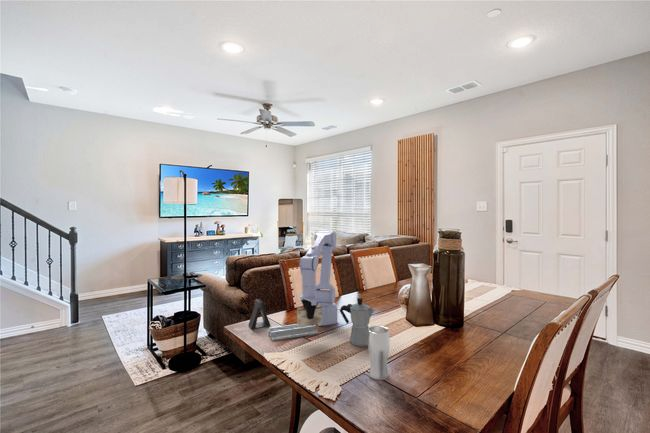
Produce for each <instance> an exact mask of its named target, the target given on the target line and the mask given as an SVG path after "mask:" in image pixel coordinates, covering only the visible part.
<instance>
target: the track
mask: <svg viewBox="0 0 650 433" xmlns="http://www.w3.org/2000/svg"><path fill="white" fill-rule="evenodd" d="M268 334H269V337H270V339H271V342H274V341H275V342H276V341H281V340H288V339H289V340H290V339H295V338H301V337H307V336H315V335H319V331H318V330H317V324H314V325H307V326H301V327H299V326H298V325H297V323H293V324H286V325H285V324H284V325H279V326H278V325H277V326H268Z"/></svg>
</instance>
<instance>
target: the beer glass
mask: <svg viewBox="0 0 650 433" xmlns="http://www.w3.org/2000/svg"><path fill="white" fill-rule="evenodd" d="M368 327H369V328H368V346H367V349H368V355H369V361H370V367H369V368H370V369H369V372H368V374H369V377H370V378H371V379H374V380H376V381H385V380H387V379H389V371H388V361H389V360H388V359H389V352H390V333H389V330H390V329H389V328H388V327H385V326H382V325H371V326H368Z"/></svg>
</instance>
